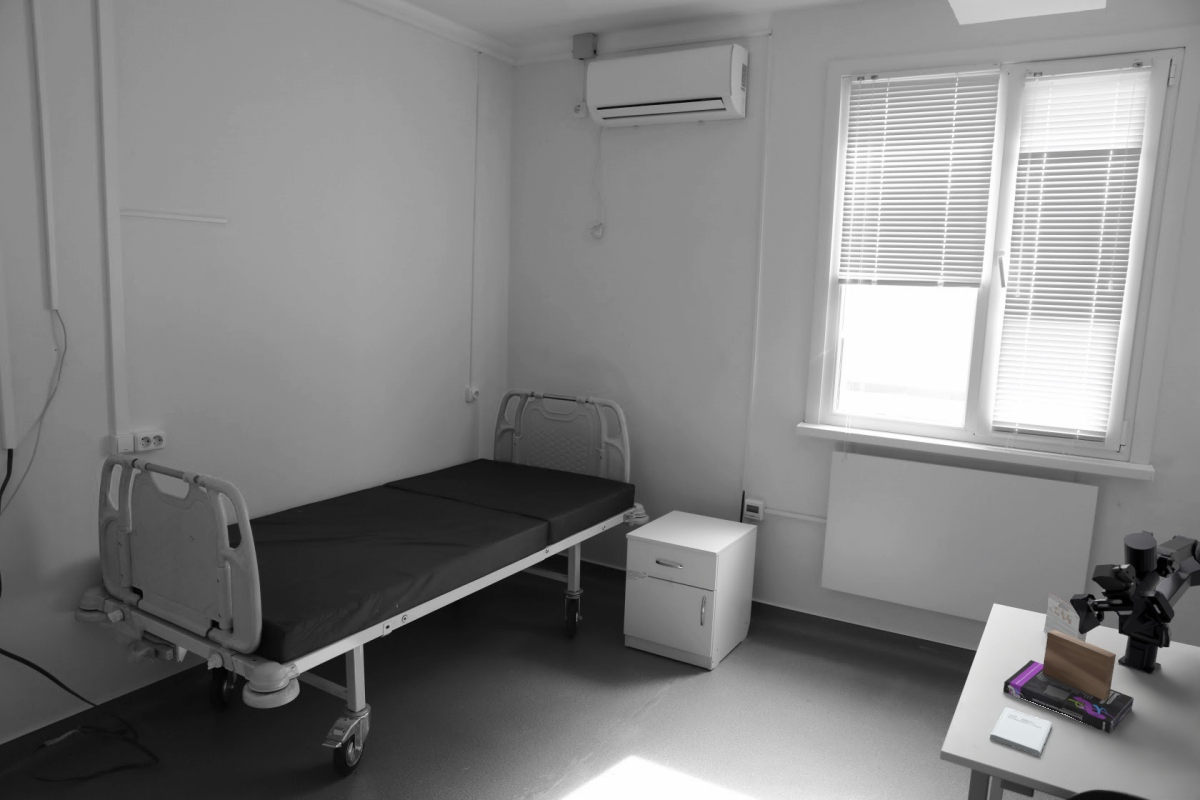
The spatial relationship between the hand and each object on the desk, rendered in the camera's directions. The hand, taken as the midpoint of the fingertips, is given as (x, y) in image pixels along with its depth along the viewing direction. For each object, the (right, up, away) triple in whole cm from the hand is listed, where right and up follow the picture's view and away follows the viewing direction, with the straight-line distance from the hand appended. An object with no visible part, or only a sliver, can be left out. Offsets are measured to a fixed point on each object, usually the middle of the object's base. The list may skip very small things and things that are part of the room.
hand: (1101, 632), depth 163 cm
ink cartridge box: (+8, -10, +27) cm, 30 cm away
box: (-7, -15, 0) cm, 16 cm away
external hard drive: (-22, -16, -12) cm, 30 cm away
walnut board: (-5, -11, +1) cm, 12 cm away
